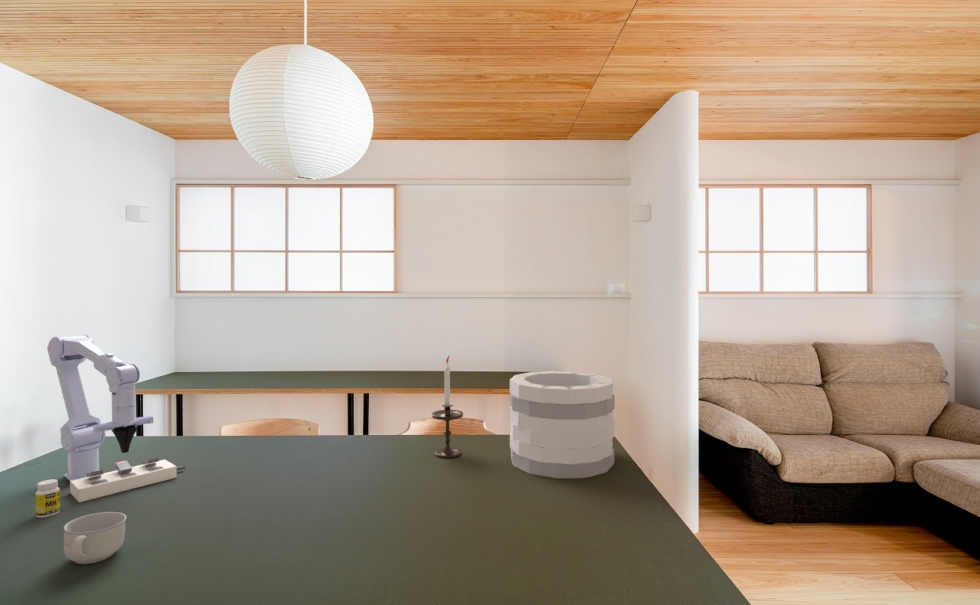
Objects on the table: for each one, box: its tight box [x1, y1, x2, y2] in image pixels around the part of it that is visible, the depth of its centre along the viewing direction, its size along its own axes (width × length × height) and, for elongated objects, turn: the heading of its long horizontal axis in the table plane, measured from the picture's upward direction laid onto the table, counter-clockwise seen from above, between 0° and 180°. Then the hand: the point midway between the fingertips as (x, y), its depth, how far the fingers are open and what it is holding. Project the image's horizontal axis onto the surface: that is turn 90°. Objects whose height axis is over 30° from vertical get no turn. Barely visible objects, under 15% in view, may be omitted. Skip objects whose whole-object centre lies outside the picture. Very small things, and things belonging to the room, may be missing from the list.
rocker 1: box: [86, 469, 104, 477], centre depth 148 cm, size 5×3×1 cm, turn 50°
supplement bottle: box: [35, 478, 61, 519], centre depth 133 cm, size 5×5×8 cm
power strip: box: [69, 459, 186, 503], centre depth 154 cm, size 10×28×4 cm, turn 140°
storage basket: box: [509, 370, 616, 479], centre depth 173 cm, size 35×35×27 cm
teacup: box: [63, 511, 127, 565], centre depth 110 cm, size 14×11×8 cm
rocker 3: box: [142, 457, 160, 465], centre depth 159 cm, size 5×3×1 cm, turn 50°
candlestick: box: [431, 355, 464, 459], centre depth 180 cm, size 11×11×35 cm
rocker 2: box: [115, 460, 133, 474], centre depth 153 cm, size 5×3×1 cm, turn 51°
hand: (124, 451), depth 152 cm, fingers closed
